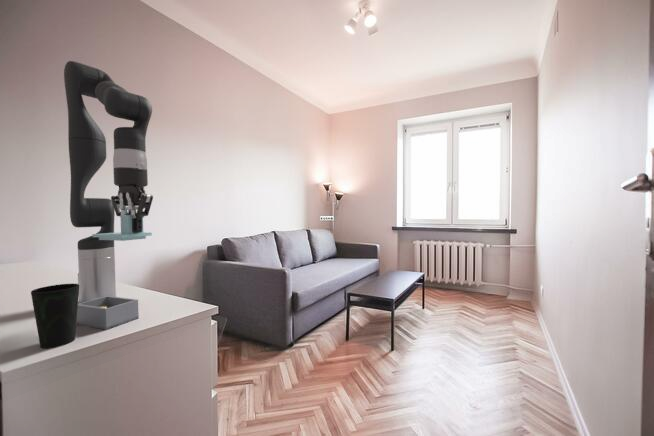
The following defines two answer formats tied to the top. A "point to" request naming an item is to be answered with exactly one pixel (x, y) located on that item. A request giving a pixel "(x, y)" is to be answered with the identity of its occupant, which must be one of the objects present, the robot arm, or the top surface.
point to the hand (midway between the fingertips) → (132, 232)
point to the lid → (124, 231)
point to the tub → (107, 312)
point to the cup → (56, 314)
